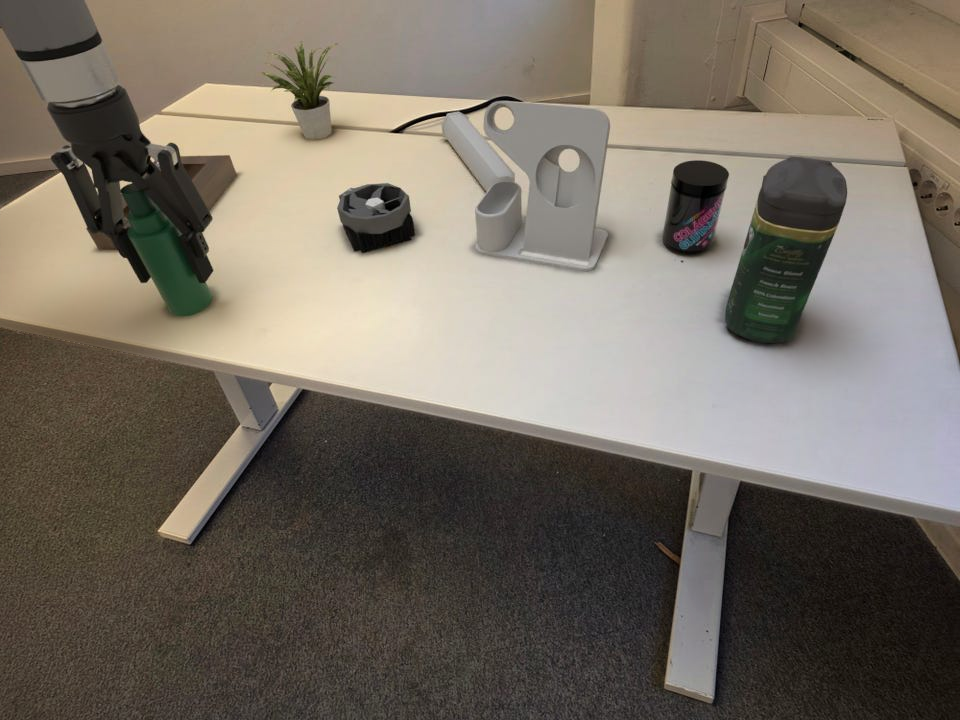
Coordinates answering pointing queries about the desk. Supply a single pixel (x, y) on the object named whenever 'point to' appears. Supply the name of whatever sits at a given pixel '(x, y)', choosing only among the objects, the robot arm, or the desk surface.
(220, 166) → the bottle holder
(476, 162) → the tube
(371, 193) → the cpu cooler
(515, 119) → the phone holder
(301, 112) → the house plant
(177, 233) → the bottle
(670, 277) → the desk surface
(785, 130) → the desk surface
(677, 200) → the supplement container
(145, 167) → the robot arm
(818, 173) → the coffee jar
